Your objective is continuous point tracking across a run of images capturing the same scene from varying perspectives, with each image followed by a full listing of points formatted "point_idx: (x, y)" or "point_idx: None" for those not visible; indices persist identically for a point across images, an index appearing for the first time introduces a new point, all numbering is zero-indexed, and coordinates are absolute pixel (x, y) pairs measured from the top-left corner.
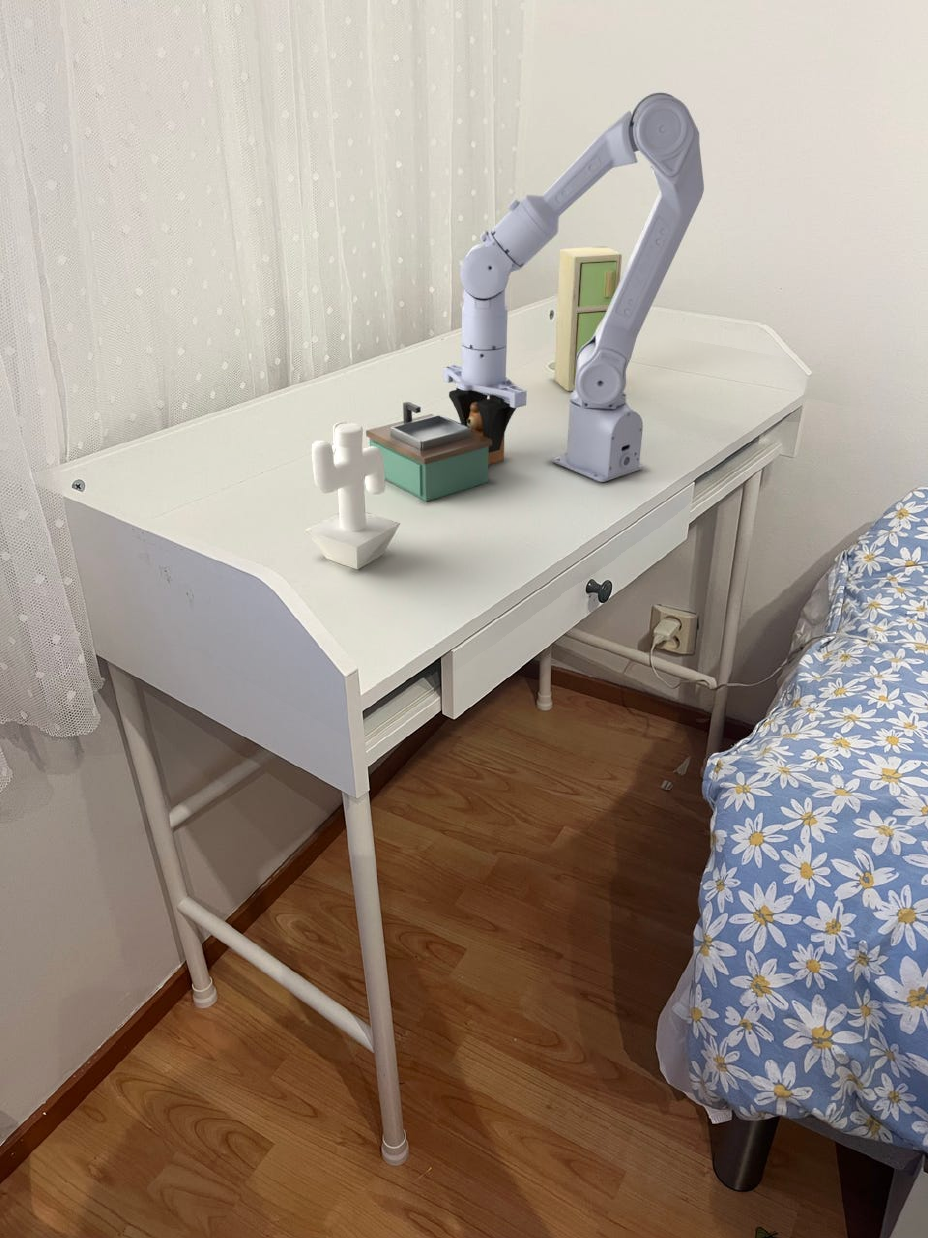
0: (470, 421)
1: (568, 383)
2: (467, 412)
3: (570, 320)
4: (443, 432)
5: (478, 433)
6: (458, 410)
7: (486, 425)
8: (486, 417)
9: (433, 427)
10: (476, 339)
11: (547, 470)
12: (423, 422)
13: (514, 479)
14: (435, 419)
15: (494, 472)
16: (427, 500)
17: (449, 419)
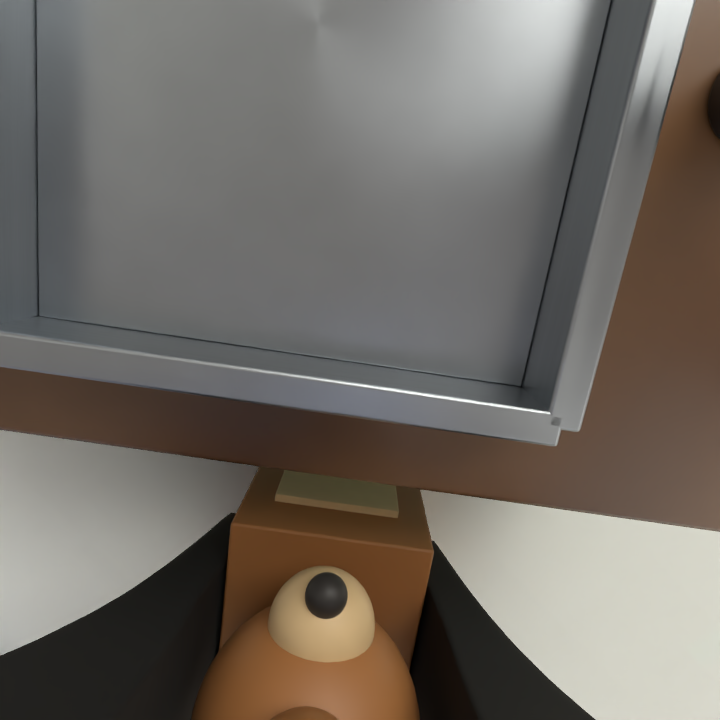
0: (303, 596)
1: None
2: (450, 716)
3: None
4: (264, 187)
5: (271, 564)
6: (529, 690)
7: (125, 611)
8: (36, 662)
9: (458, 229)
10: None
11: (38, 610)
12: (591, 170)
13: (51, 440)
14: (543, 350)
15: None
16: None
17: (350, 394)
